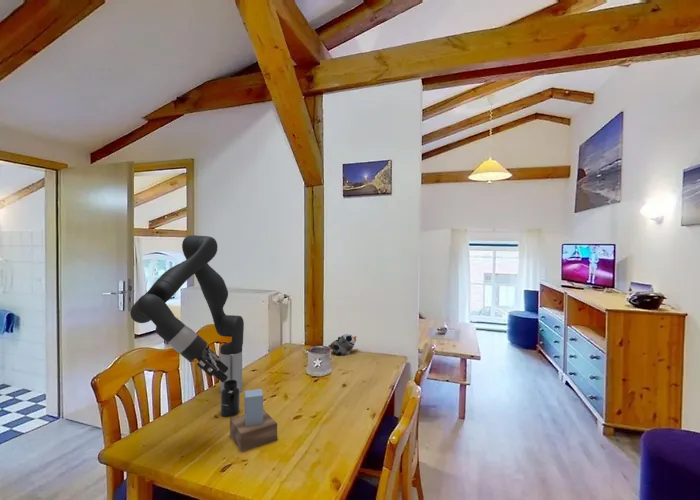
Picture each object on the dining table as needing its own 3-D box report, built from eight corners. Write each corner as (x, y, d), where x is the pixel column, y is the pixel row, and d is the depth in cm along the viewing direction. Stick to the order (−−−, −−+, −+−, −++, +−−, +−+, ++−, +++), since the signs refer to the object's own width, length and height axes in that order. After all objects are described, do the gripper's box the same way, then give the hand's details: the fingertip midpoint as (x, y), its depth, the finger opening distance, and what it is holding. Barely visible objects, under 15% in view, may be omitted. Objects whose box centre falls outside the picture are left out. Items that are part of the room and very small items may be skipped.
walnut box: (230, 436, 124) (230, 418, 124) (263, 426, 130) (263, 409, 130) (241, 452, 114) (241, 434, 114) (277, 441, 121) (277, 423, 120)
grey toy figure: (339, 347, 226) (350, 328, 225) (352, 359, 218) (363, 339, 217) (324, 346, 214) (335, 325, 214) (337, 358, 207) (349, 337, 206)
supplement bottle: (220, 418, 135) (220, 386, 135) (221, 410, 142) (221, 379, 142) (239, 415, 137) (239, 384, 137) (239, 407, 144) (239, 377, 144)
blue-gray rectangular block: (244, 418, 124) (244, 390, 123) (261, 416, 125) (261, 388, 125) (245, 426, 118) (245, 397, 118) (263, 423, 120) (263, 395, 120)
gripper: (194, 340, 109) (234, 373, 113) (199, 329, 123) (234, 359, 126) (175, 359, 108) (216, 392, 111) (182, 346, 121) (218, 376, 125)
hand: (226, 375), depth 119 cm, fingers open, 8 cm apart
